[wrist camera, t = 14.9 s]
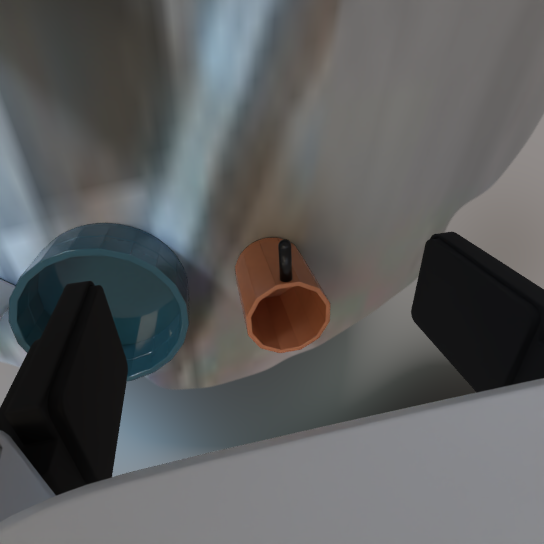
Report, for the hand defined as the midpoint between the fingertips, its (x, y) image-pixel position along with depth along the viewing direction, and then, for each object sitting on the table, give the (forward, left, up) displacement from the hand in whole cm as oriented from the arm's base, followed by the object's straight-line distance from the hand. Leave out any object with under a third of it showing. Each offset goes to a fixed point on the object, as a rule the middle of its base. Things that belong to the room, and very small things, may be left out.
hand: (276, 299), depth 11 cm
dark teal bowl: (-1, -18, -24) cm, 30 cm away
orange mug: (+10, -6, -24) cm, 27 cm away
